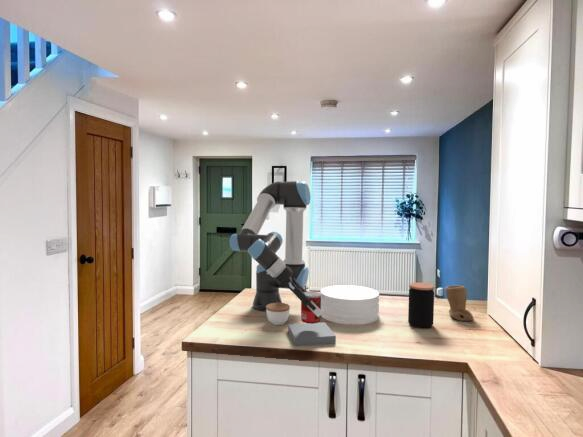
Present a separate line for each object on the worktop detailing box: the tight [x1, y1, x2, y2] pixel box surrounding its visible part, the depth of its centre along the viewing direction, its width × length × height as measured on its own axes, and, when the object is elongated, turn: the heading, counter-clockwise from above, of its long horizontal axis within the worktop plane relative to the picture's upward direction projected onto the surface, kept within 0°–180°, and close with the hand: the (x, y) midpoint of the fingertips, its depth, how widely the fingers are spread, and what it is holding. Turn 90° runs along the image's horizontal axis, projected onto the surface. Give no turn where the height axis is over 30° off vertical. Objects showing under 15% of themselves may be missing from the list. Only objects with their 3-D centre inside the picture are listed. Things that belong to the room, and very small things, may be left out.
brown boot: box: [444, 284, 475, 322], centre depth 177 cm, size 15×12×15 cm
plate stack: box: [320, 284, 380, 325], centre depth 179 cm, size 28×28×12 cm
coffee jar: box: [407, 282, 435, 329], centre depth 165 cm, size 11×11×18 cm
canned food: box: [300, 291, 322, 324], centre depth 149 cm, size 8×8×11 cm
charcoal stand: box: [287, 321, 337, 347], centre depth 150 cm, size 16×16×3 cm
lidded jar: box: [265, 302, 291, 326], centre depth 166 cm, size 11×11×9 cm
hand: (319, 311), depth 149 cm, fingers closed on canned food, 8 cm apart
